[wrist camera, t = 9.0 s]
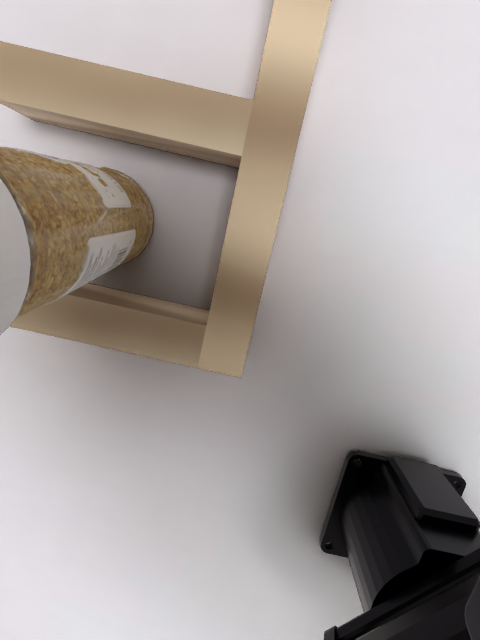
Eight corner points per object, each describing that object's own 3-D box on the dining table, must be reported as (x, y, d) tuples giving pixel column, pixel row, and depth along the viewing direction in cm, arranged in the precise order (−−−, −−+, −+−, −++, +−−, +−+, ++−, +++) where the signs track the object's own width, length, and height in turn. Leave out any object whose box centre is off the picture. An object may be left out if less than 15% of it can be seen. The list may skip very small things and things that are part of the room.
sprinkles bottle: (136, 156, 17) (-148, 18, 4) (167, 252, 19) (19, 363, 6) (43, 183, 18) (-478, 129, 5) (81, 276, 19) (-245, 432, 6)
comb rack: (243, 356, 20) (241, 378, 17) (18, 305, 19) (-25, 318, 16) (352, -106, 15) (376, -188, 12) (59, -177, 15) (10, -278, 12)
